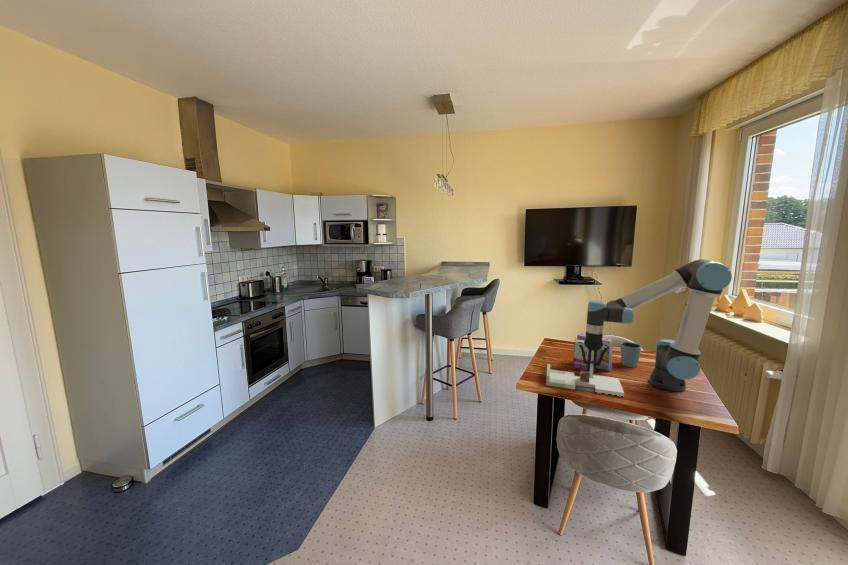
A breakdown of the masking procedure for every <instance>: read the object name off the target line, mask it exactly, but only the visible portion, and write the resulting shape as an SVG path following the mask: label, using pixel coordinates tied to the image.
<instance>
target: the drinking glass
mask: <svg viewBox="0 0 848 565" xmlns="http://www.w3.org/2000/svg"><path fill="white" fill-rule="evenodd" d="M641 349H642V345H641V344H639V343H636V342H632V341H631V342H630V341H623V342H620V356H621V357H620V364H621V365H622V364H623V365H622V366H624V365H625V366H624V367H627V366H628V367H629V368H637V367H638V366H639V360H640V354H641Z"/></svg>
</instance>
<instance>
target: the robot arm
mask: <svg viewBox="0 0 848 565" xmlns="http://www.w3.org/2000/svg"><path fill="white" fill-rule="evenodd" d="M732 278H733V274H732V271H731V269H730V268H729V267H728V266H726V265H725V264H724V263H722V262H720V261H715V260H709V259H701V258H700V259H697V260H692V261H690V262H689V263H686V264H684V265H682V266H680V267H678V268H676V269H673V271H672V273H671V274H668V275H666V276H665V277H661V278H660V279H658V280H655V281H654V282H651V283H650V284H647V285H646V286H643V287H640V288H639V289H636V290H634V291H633V292H630V293H628V294H626V295H624V296H622V297H620V298H617V299H616V300H613V299H612V300H609V301H607V302H604V301H602V300H600V301H599V300H591V301H589V302H588V306H587V310H586V311H587V312H586V327H585V334H586V337H585V341H584V343H582V344H579V347H580V348H581V350H582V355H583V360H584V363H585V364H587V371H586V372H589V375H590V376H589V378H593V375H594V373H596V370H597V368H596V366H597V365H600V364H601V361H602V359H603V356H604V354H605V352H606V351H607V350H608V349H607V347H606V346H604V345H603V343H602V338H604V336H603V335H604V334H603V333H604V325H605V324H604V323H605V322H607V323H615V324H617V323H618V324H632V323H633V321H634V315H635V314H634V310H635V309H637V308H638V307H641V306H644V305H645V304H648V303H650V302H651V301H655V300H656V299H659V298H661V297H662V296H665V295H668V294H670V293H672V292H674V291H677V290H679V289H682V288H684V289H686V288H687V289H688V290H689V292H690V293H689V297H688V300H687V303H686V307H685V310H684V312H683V316H682V318H681V322H680V324H679V328H678V331H677V334H676V337H675V340H674V339H666V338H665V339H659V340H658V341H657V342H656V352H655V353H656V354H655V360H654V368H653V370H652V372H651V373H650V375H649V378H648V381H649V383H650V384H651V385H652V386H654V387H656V388H659V389H662V390H665V391H671V392H683V391H685V390H686V389H687V383H686V381H687V380H688V381H689V380H691V379H692V380H693V379H695V378H697V376H698V375H699V374H700V372H701V365H700V362H699V360H700V358H701V355H702V353H701V351H700V350H699V347H700V343H701V341H702V338H703V334H704V332H705V328H706V326H707V322H708V320H709V318H710V317H709V316H710V314H711V311H712V309H713V308H712V307H713V304H714V302H715V299H716V298H718V297H719V296H721V295H722V294H723V293H722V292H723V289H725V288H727V287H728V286H729V285H730V284H731V282H732ZM584 345H585V346H586V347H587V349H588V361H586V357H585V352H584ZM601 347H602V351H601V353H600V356H599V358H598V361H597V351H598V350H599V349H600V348H601ZM592 350H593V351H594V357H593V364H590V363H591V352H592ZM596 361H597V362H596Z"/></svg>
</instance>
